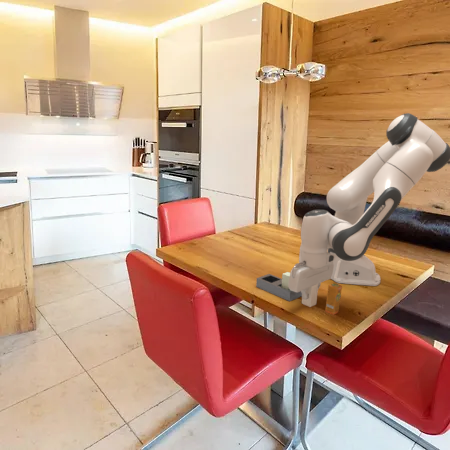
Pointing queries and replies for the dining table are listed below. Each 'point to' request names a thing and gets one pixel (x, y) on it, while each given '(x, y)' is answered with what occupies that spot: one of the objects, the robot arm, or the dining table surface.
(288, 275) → the beige peg
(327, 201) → the robot arm
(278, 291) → the grey peg holder
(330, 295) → the supplement box
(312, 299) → the block
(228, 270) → the dining table surface
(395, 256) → the dining table surface
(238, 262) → the dining table surface
